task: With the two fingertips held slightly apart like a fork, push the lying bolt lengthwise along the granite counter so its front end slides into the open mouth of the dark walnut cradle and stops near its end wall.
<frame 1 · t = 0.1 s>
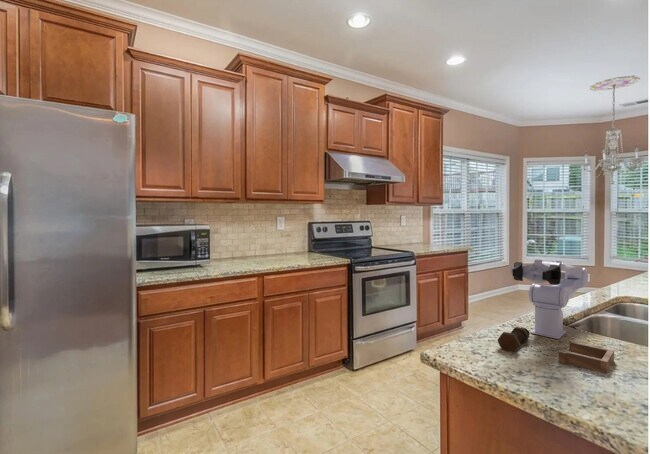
hand: (528, 274, 99), 22 cm above the worktop, tool horizontal, fingers open, 7 cm apart
bolt: (516, 345, 103), on the worktop
cradle: (585, 360, 91), on the worktop
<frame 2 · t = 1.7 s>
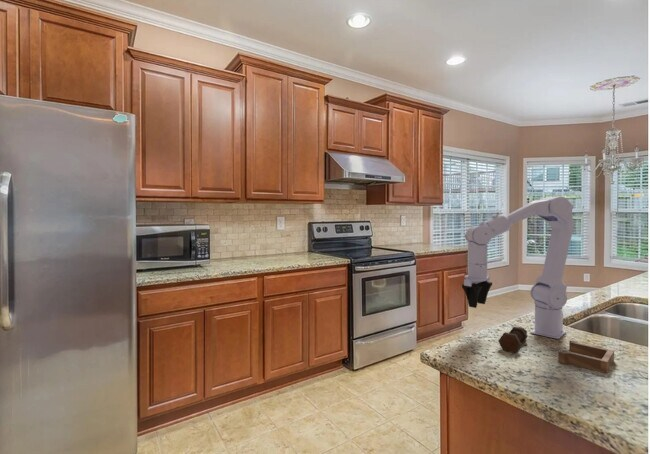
hand: (477, 305, 112), 9 cm above the worktop, tool pointing down, fingers open, 6 cm apart
nothing on the worktop moved.
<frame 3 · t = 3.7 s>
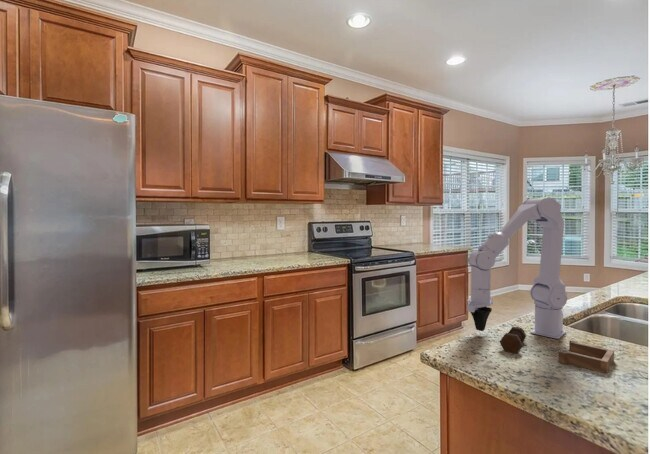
hand: (480, 330, 111), 2 cm above the worktop, tool pointing down, fingers closed
nothing on the worktop moved.
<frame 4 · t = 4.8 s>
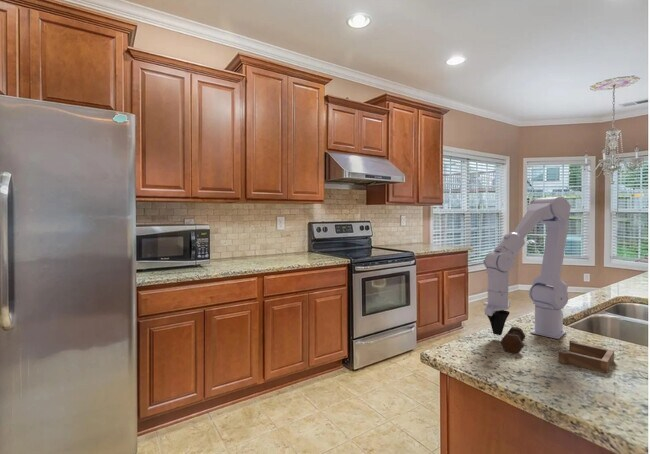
hand: (497, 334, 107), 2 cm above the worktop, tool pointing down, fingers closed
nothing on the worktop moved.
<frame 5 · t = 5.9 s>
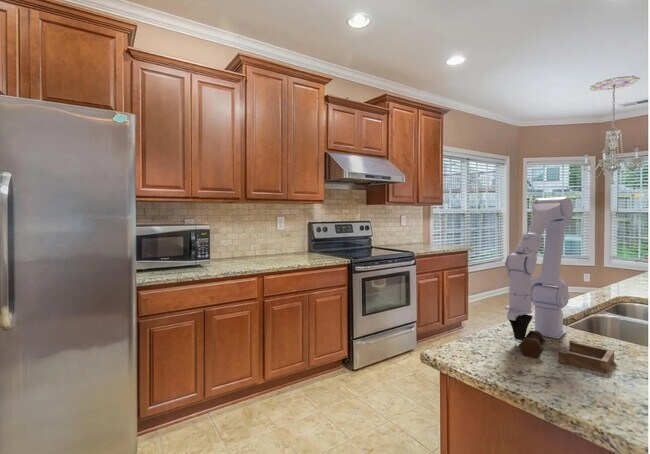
hand: (519, 339, 103), 2 cm above the worktop, tool pointing down, fingers closed
bolt: (534, 350, 100), on the worktop, touching gripper
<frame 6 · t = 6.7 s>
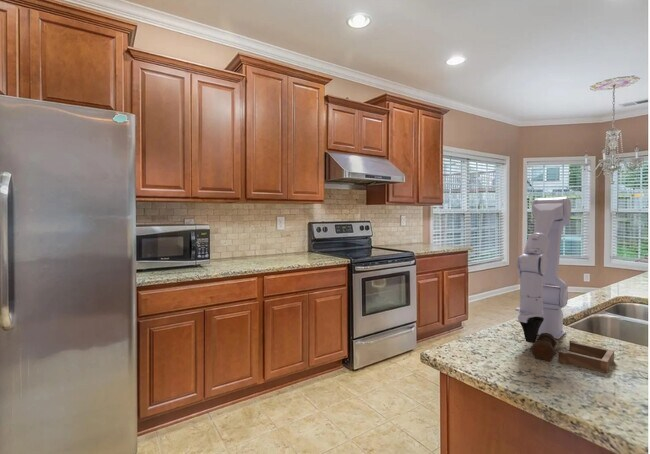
hand: (530, 341, 101), 2 cm above the worktop, tool pointing down, fingers closed
bolt: (545, 353, 98), on the worktop, touching gripper
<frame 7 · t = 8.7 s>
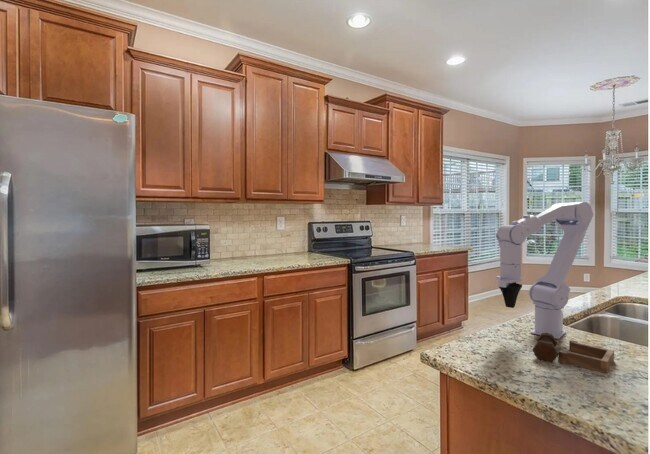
hand: (510, 307, 108), 10 cm above the worktop, tool pointing down, fingers closed
bolt: (546, 353, 97), on the worktop
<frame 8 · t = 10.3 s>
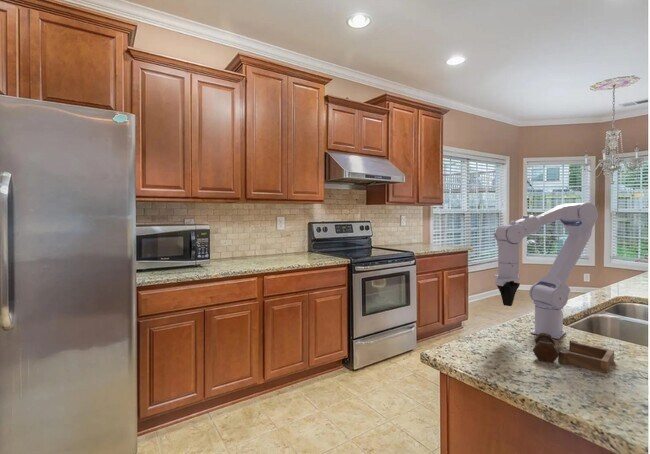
hand: (507, 305, 110), 10 cm above the worktop, tool pointing down, fingers closed
nothing on the worktop moved.
at the end: bolt inside the target area (1.9 cm from its centre), on the worktop; bolt moved 7.7 cm from its start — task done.
